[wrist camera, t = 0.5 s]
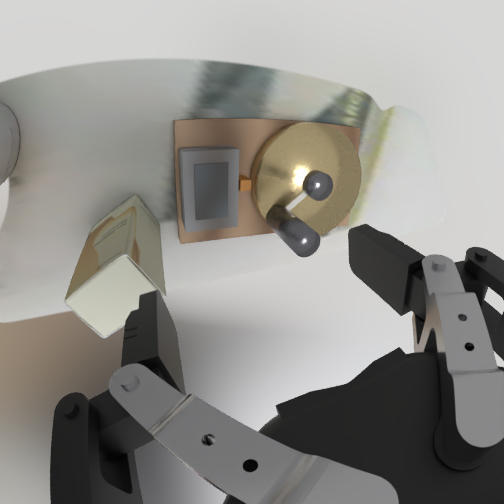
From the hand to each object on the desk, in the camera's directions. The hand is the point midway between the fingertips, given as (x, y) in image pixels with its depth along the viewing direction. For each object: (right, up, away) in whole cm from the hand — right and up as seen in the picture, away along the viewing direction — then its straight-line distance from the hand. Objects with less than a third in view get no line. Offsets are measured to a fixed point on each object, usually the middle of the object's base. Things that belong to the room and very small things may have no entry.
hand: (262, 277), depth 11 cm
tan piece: (+2, +9, +18) cm, 21 cm away
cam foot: (+5, +9, +18) cm, 20 cm away
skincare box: (-13, +4, +16) cm, 21 cm away
